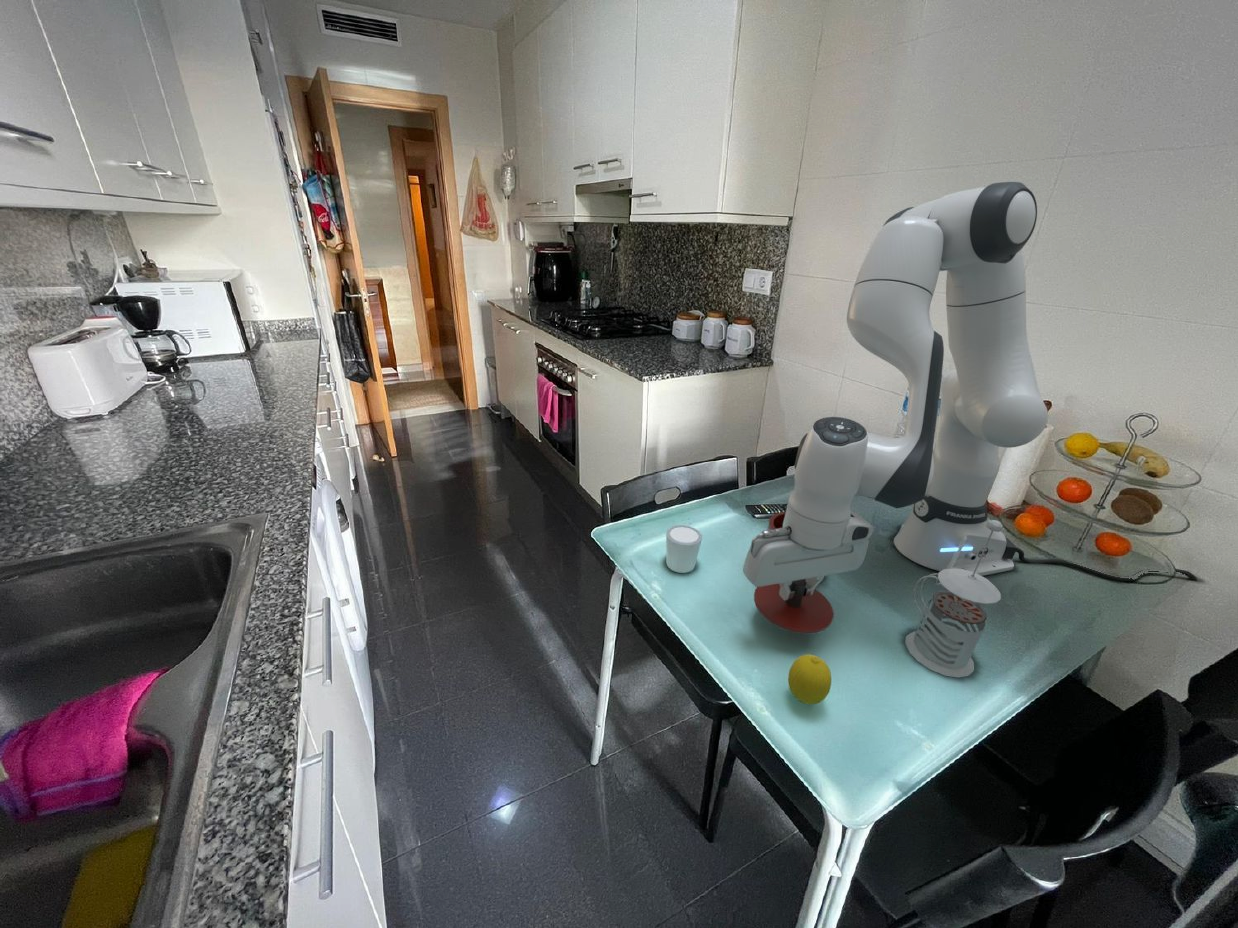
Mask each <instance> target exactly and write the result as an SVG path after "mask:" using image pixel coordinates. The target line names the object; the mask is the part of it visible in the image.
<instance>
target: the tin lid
mask: <svg viewBox="0 0 1238 928" xmlns="http://www.w3.org/2000/svg"><path fill="white" fill-rule="evenodd" d="M806 584H807V582H806V581H805V580H804V579H802V580H796V581H792V584H791V585H789V586H790V587H791V588H792V589H793V590H794V591H795V593H794V595H793V599H789V600H783V599H782V598H781V596H780V595H779V591H780V587H781V586H780V584H773V585H768V586H762V587H755V590H754V592H753V593H754V594H753V602H754V605H755V608H756V609H757V610H758V612H759V613H760V614H761V615H762V616H763V618H765V619H766V620H767V621H768V622H770V623H771V624H773V625H775V626H776V627H779V628H780V629H783V630H785V631H788V632H792V633H796V634H804V635H805V634H817V633H821V632H823V631H825V630H827V629H828V628H829V627H830V626H831V624H832V623H833V620H834V609H833V606H832V604H831V602H830V601H829V600H828V598H827V597H826V596H825V595H824V594H823V593H821V592H820V591H819V590H817V589H816V588H815V589H814V592H813V595H810V596H803V595H804V592H805V588H806Z"/></svg>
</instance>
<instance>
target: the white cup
mask: <svg viewBox="0 0 1238 928" xmlns="http://www.w3.org/2000/svg"><path fill="white" fill-rule="evenodd" d="M665 536H666V537H665V539H666V540H665V544H666V545H665V548H666V549H665V551H666V553H665V554H666V555H665V557H666V558H665V559H666V561H665V564H666V566H667V568H669V569H670V570H671V571H673V572H676V573H678V574H679V573H681V574H686V573H690V572H692V571H693V570H694V569H695V567H696V563H697V559H698V556H699V551H700V548H701V545H702V544H701V543H702V540H703V534H702V533H701V532H700V531H699V530H698V529H697V528H695V527H692V526H690V525H684V524H680V525H673V526H671V527H669V528H668V529H667V530H666V535H665Z"/></svg>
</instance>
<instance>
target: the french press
mask: <svg viewBox="0 0 1238 928" xmlns="http://www.w3.org/2000/svg"><path fill="white" fill-rule="evenodd" d="M986 527H987V528H988V529H990V530H992V531H991V533H990V536H989V538H988V540H987V543H986V545H985V547H984V549H983V552H982V554H981V556H980V559H979V561H978V563H977V565H976V568H975V570H974V572H971V571H968V570H964V569H957V568H950V569H943V570H942V571H938V573H937V572H936V573H930V574H929V575H925V576H922V577H920V578H919V579H918V580H917V581H916V582H915V585H914V588H913V602H914V604H915V606H916V608H917V609H918V611H919V612H920V614H921V617H920V621H919V623H918V625H917V628H916V631H911V632H910V633H909V634H907V635H906V636H905V643H904V644H905V647H906V648H907V650H908V651H907V652H909V654H910V655H911V656H913V658H914V659H915V660H916V662H918V663H920V664H921V665H923V666H924V667H926V668H927V669H929V670H930V671H933V672H935V673H937V674H940V675H942V676H947V677H951V678H959V679H960V678H964V677H969V676H970V675H971V674H972V673H973V672H974V671H975V662H974V660H973V659H972V655H973V653H974V651H975V649H976V646H977V645H978V643H979V641H980V638H981V636H982V634H983V632H984V630H985V627H986V620H987V619H988V618H987V612H986V611H985V609H984V608H983V606H991V605H995V604H997V603H998V602H999V601H1001V600H1002V594H1001V592H1000V591H999V589H998V588H997V587H996V586H995V585H994V584H993V583H992V581H990V580H989V578H986V577H984V576H980V575H978V574H977V573H975V572H976V570H977V568H978V565H979V563H980V561H981V558H982V556H983V554H984V552H985V549H986V547H987V545H988V543H989V540H990V538H991V536H992V533H993V531H996V532H1002V530H1003V527H1004V525H1003V524H1002V522H1001V521H999V520H996V519H990V521H988V522H987V524H986ZM929 578H933V579H935V586H940V585H941V586H942V588H944V589H945V590H941V591H936V593H934V594H932V599H930V600H928V602H927V604H926V602H925V600H924V597H923V587H924V584H925V582H926V581H927V579H929ZM921 581H922V583H921V585H920V599H921V602H922V604H923V606H924V608H925V609H924V612H923V611H922V610H921V608H920V606H919V604H918V602H917V600H916V590H917V587H918V584H919V583H920V582H921ZM931 602H932V604H931ZM930 605H931V607H930ZM929 607H930V608H929ZM942 619H943V620H942ZM944 619H945V620H944ZM946 619H947V620H946ZM948 620H951V621H948ZM952 621H955V622H958V623H959V624H961V625H962V626H963V627H964V628H965V630H964V628H962V627H961V626H960V625H958V624H957V623H955V622H952ZM923 623H924V624H923ZM968 624H969V626H970V627H971V629H970V628H969V626H968ZM975 625H976V627H977V629H976V627H975ZM971 630H972V631H971ZM977 630H978V631H977Z"/></svg>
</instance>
